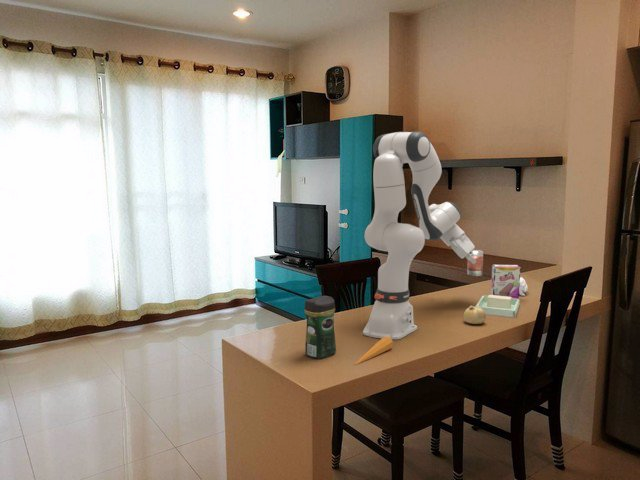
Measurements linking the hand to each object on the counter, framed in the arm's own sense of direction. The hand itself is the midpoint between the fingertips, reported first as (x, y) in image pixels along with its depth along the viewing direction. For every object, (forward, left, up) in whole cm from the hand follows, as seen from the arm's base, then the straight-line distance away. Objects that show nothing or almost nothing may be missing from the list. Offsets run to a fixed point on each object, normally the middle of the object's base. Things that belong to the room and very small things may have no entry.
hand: (476, 261), depth 206 cm
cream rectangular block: (+5, -9, -19) cm, 22 cm away
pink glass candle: (0, +1, -6) cm, 6 cm away
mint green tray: (0, -9, -20) cm, 22 cm away
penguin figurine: (+35, -15, -20) cm, 43 cm away
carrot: (-69, +21, -21) cm, 75 cm away
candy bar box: (+16, -10, -20) cm, 28 cm away
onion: (-21, -3, -21) cm, 29 cm away
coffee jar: (-75, +36, -20) cm, 85 cm away
